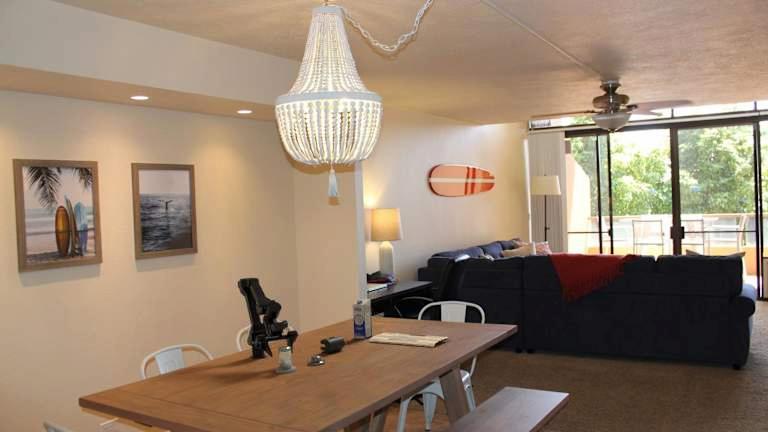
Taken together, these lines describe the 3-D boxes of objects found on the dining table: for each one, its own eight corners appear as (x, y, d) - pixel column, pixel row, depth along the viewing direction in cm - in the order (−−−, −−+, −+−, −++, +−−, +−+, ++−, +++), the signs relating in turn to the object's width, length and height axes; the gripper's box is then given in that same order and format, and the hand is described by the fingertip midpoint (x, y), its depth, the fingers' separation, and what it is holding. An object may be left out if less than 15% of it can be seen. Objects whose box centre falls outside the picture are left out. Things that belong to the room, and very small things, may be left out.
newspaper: (450, 341, 335) (450, 335, 334) (432, 349, 318) (432, 343, 318) (387, 336, 354) (387, 331, 354) (367, 344, 338) (367, 338, 338)
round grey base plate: (305, 362, 301) (305, 356, 301) (322, 360, 304) (322, 353, 304) (309, 366, 294) (309, 359, 294) (327, 364, 297) (327, 357, 296)
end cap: (331, 354, 315) (330, 340, 315) (320, 353, 320) (319, 339, 319) (345, 350, 323) (344, 336, 323) (334, 349, 327) (333, 335, 327)
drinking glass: (281, 366, 291) (280, 346, 291) (293, 366, 290) (292, 345, 290) (277, 370, 286) (276, 348, 286) (290, 369, 285) (289, 348, 285)
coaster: (273, 369, 291) (273, 367, 291) (293, 367, 294) (293, 364, 294) (277, 374, 282) (277, 372, 282) (298, 371, 285) (298, 369, 285)
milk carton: (372, 337, 352) (370, 298, 351) (365, 339, 346) (363, 300, 346) (361, 336, 356) (359, 298, 355) (354, 338, 350) (352, 300, 349)
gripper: (255, 317, 290) (265, 347, 281) (295, 312, 300) (306, 341, 290) (250, 332, 297) (259, 362, 288) (289, 326, 307) (300, 355, 298)
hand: (282, 354), depth 291 cm, fingers open, 9 cm apart
